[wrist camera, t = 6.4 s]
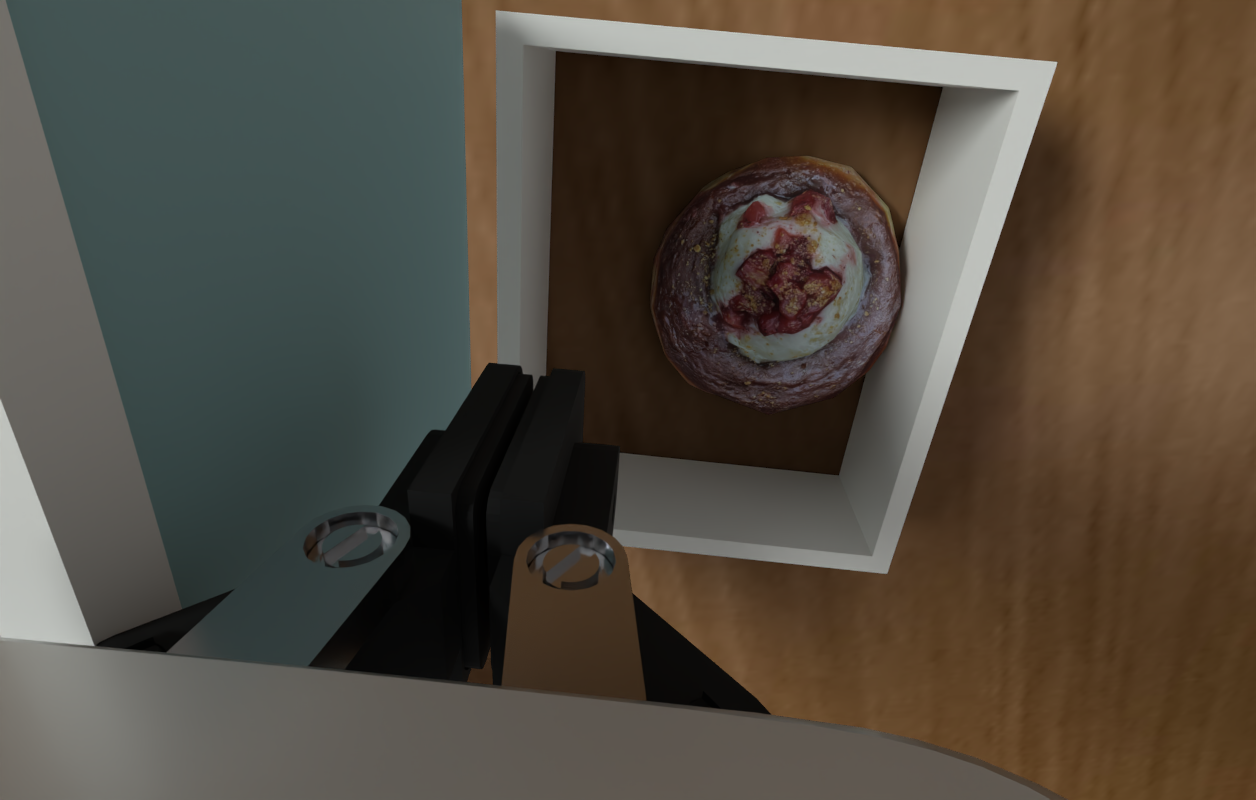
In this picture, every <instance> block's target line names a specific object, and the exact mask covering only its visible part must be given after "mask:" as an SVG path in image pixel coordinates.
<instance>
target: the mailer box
mask: <svg viewBox="0 0 1256 800" xmlns="http://www.w3.org/2000/svg"><path fill="white" fill-rule="evenodd" d="M556 51H561V52H572V53H582V54H593V55H604V56H615V57H625V58H636V59H647V60H658V61H668V62H679V63H690V64H701V65H711V66H722V67H733V68H744V69H755V70H765V71H776V72H787V73H798V74H808V75H819V76H830V77H841V78H851V79H862V80H873V81H884V82H894V83H905V84H916V85H927V86H938V87H943V89H942V93H941V96H940V100H939V104H938V108H937V111H936V115H935V119H934V123H933V126H932V130H931V134H930V137H929V141H928V145H927V149H926V152H925V156H924V160H923V164H922V167H921V171H920V175H919V178H918V182H917V186H916V190H915V193H914V197H913V201H912V205H911V208H910V212H909V216H908V219H907V223H906V227H905V231H904V234H903V238H902V242H901V246H900V249H899V262H900V288H901V306H900V309H899V312H898V315H897V318H896V320H895V323H894V326H893V329H892V332H891V335H890V338H889V341H888V344H887V347H886V348H885V350H884V351H883V352H882V354H881V355H880V357H879V358H878V359H877V361H876V362H875V363H874V365H873V366H872V368H871V369H870V370H869V371H868V372H867V373H866V376H865V380H864V384H863V387H862V391H861V395H860V399H859V402H858V406H857V410H856V413H855V417H854V421H853V425H852V428H851V432H850V436H849V440H848V443H847V447H846V451H845V454H844V458H843V462H842V466H841V469H840V473H839V475H829V474H820V473H810V472H800V471H791V470H781V469H771V468H762V467H752V466H743V465H733V464H723V463H714V462H704V461H694V460H685V459H675V458H665V457H656V456H646V455H636V454H627V453H620V457H619V472H618V485H617V498H616V509H615V519H614V528H613V537H615V538H616V540H617V541H618V542H619V543H620V544H621V545H622V546H628V547H638V548H647V549H657V550H666V551H676V552H685V553H694V554H704V555H713V556H723V557H732V558H742V559H751V560H760V561H770V562H779V563H789V564H798V565H807V566H817V567H826V568H836V569H845V570H855V571H864V572H873V573H883V574H887V573H888V570H889V567H890V564H891V561H892V558H893V555H894V552H895V549H896V546H897V543H898V540H899V537H900V534H901V531H902V528H903V525H904V522H905V519H906V516H907V513H908V510H909V507H910V504H911V501H912V498H913V495H914V492H915V489H916V486H917V483H918V480H919V477H920V474H921V471H922V468H923V465H924V462H925V459H926V456H927V453H928V450H929V447H930V444H931V441H932V438H933V435H934V432H935V429H936V426H937V423H938V420H939V417H940V414H941V411H942V408H943V405H944V402H945V399H946V395H947V392H948V389H949V386H950V383H951V380H952V377H953V374H954V371H955V368H956V365H957V362H958V359H959V356H960V353H961V350H962V347H963V344H964V341H965V338H966V335H967V332H968V329H969V326H970V323H971V320H972V317H973V314H974V311H975V308H976V305H977V302H978V299H979V296H980V293H981V290H982V287H983V284H984V281H985V278H986V275H987V272H988V269H989V266H990V263H991V260H992V257H993V254H994V251H995V248H996V245H997V242H998V239H999V236H1000V233H1001V230H1002V227H1003V224H1004V221H1005V218H1006V215H1007V212H1008V209H1009V206H1010V203H1011V200H1012V197H1013V194H1014V191H1015V188H1016V185H1017V182H1018V179H1019V176H1020V173H1021V170H1022V167H1023V164H1024V161H1025V158H1026V155H1027V152H1028V149H1029V146H1030V143H1031V140H1032V137H1033V134H1034V131H1035V128H1036V125H1037V122H1038V119H1039V116H1040V113H1041V110H1042V107H1043V104H1044V101H1045V98H1046V95H1047V92H1048V89H1049V86H1050V83H1051V80H1052V77H1053V74H1054V71H1055V68H1056V65H1057V62H1050V61H1039V60H1028V59H1017V58H1006V57H995V56H985V55H974V54H963V53H952V52H941V51H930V50H919V49H908V48H898V47H887V46H876V45H865V44H854V43H843V42H832V41H821V40H811V39H800V38H789V37H778V36H767V35H756V34H745V33H734V32H724V31H713V30H702V29H691V28H680V27H669V26H658V25H647V24H637V23H626V22H615V21H604V20H593V19H582V18H571V17H560V16H550V15H539V14H528V13H517V12H506V11H496V134H497V325H498V364H509V365H520V366H521V367H522V371H523V374H530V375H532V376H533V391H534V388H535V386H536V384H537V382H538V379H539V377H540V376H541V375H542V376H546V357H547V324H548V292H549V259H550V226H551V193H552V161H553V128H554V95H555V62H556Z"/></svg>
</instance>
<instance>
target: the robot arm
mask: <svg viewBox="0 0 1256 800" xmlns="http://www.w3.org/2000/svg"><path fill="white" fill-rule="evenodd" d="M584 397H585V371H578V370H566V369H555V368H553V370H552V372H551V374H550V376H542V375H541V376H540V377H539V379H538V382H537V384H536V386H535V388H534V391H533V376H532V375H530V374H523V371H522V367H521V366H520V365H509V364H497V363H489V364H488V365H487V366H486V368H485V369H484V371H483V372H482V374H481V375H480V377H479V379H478V380H477V382H476V383H475V385H474V386H473V388H472V390H471V391H470V393H469V394H468V396H467V397H466V399H465V401H464V402H463V404H462V405H461V407H460V408H459V410H458V411H457V413H456V415H455V416H454V418H453V419H452V421H451V422H450V424H449V426H448V427H447V429H446V430H436V429H435V430H431V431H430V432H429V433H428V434H427V435H426V437H425V438H424V440H423V441H422V443H421V444H420V446H419V447H418V449H417V450H416V451H415V453H414V454H413V456H412V457H411V459H410V460H409V462H408V463H407V465H406V466H405V468H404V469H403V471H402V472H401V473H400V475H399V476H398V478H397V479H396V481H395V482H394V484H393V485H392V487H391V488H390V490H389V491H388V493H387V494H386V495H385V497H384V498H383V500H382V501H381V503H380V504H379V506H373V505H359V506H348V507H344V508H341V509H337V510H333V511H330V512H328V513H325V514H323V515H321V516H319V517H316V518H314V519H313V520H312V521H310V522H309V523H307V524H306V525H305V526H303V527H302V528H301V529H300V530H299V531H297V532H296V533H295V534H294V535H293V536H292V537H291V538H290V539H289V540H288V541H287V542H286V543H284V544H283V545H282V546H281V547H280V548H279V549H278V550H277V551H276V552H275V553H274V554H273V555H271V556H270V557H269V558H268V559H267V560H266V561H265V562H264V563H263V564H262V565H261V566H260V567H258V568H257V569H256V570H255V571H254V572H253V573H252V574H251V575H250V576H249V577H248V578H247V579H245V580H244V581H243V582H242V583H241V584H240V585H239V586H238V587H237V588H236V589H233V590H231V591H228V592H226V593H223V594H220V595H218V596H215V597H212V598H210V599H207V600H205V601H202V602H199V603H197V604H194V605H192V606H189V607H186V608H184V609H181V610H179V611H176V612H173V613H171V614H168V615H166V616H163V617H160V618H158V619H155V620H152V621H150V622H147V623H145V624H142V625H139V626H137V627H134V628H132V629H129V630H126V631H124V632H121V633H119V634H116V635H113V636H111V637H109V638H107V639H105V640H103V641H101V642H99V643H98V644H97V645H96V646H89V645H78V644H67V643H57V642H46V641H35V640H25V639H14V638H3V637H0V800H1067V799H1066V798H1064V797H1062V796H1060V795H1058V794H1056V793H1054V792H1052V791H1050V790H1048V789H1047V788H1045V787H1043V786H1041V785H1039V784H1037V783H1034V782H1032V781H1030V780H1027V779H1025V778H1023V777H1020V776H1018V775H1016V774H1013V773H1011V772H1009V771H1006V770H1004V769H1002V768H999V767H997V766H995V765H992V764H990V763H988V762H985V761H983V760H981V759H978V758H976V757H972V756H969V755H966V754H963V753H959V752H956V751H953V750H950V749H947V748H943V747H940V746H937V745H934V744H930V743H927V742H924V741H921V740H917V739H913V738H908V737H903V736H899V735H894V734H889V733H885V732H880V731H875V730H871V729H866V728H862V727H855V726H847V725H840V724H833V723H825V722H818V721H811V720H804V719H797V718H790V717H783V716H776V715H771V714H770V713H769V712H768V710H767V709H766V708H765V707H764V706H763V705H762V704H761V703H760V702H759V701H758V700H757V699H756V698H755V697H754V696H753V695H752V694H751V693H749V692H748V691H747V690H746V689H745V688H744V687H742V686H741V685H740V684H739V683H738V682H736V681H735V680H734V679H733V678H732V677H731V676H729V675H728V674H727V673H726V672H725V671H724V670H722V669H721V668H720V667H719V666H718V665H716V664H715V663H714V662H713V661H712V660H711V659H709V658H708V657H707V656H706V655H705V654H703V653H702V652H701V651H700V650H699V649H698V648H696V647H695V646H694V645H693V644H692V643H691V642H689V641H688V640H687V639H686V638H685V637H683V636H682V635H681V634H680V633H679V632H678V631H676V630H675V629H674V628H673V627H672V626H670V625H669V624H668V623H667V622H666V621H665V620H663V619H662V618H661V617H660V616H659V615H658V614H656V613H655V612H654V611H653V610H652V609H650V608H649V607H648V606H647V605H646V604H645V603H643V602H642V601H641V600H640V599H639V598H637V597H636V596H635V595H634V594H633V593H632V587H631V580H630V572H629V565H628V558H627V555H626V553H625V550H624V547H623V546H622V545H621V544H620V543H619V542H618V541H617V540H616V538H615V537H613V528H614V519H615V509H616V498H617V485H618V472H619V457H620V446H614V445H603V444H592V443H583V420H584ZM490 647H491V667H492V672H493V685H489V684H479V683H470V682H467V679H468V676H469V674H470V671H471V668H476V669H482V668H483V667H484V665H485V662H486V659H487V656H488V653H489V650H490Z"/></svg>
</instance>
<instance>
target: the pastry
mask: <svg viewBox="0 0 1256 800" xmlns="http://www.w3.org/2000/svg"><path fill="white" fill-rule="evenodd" d="M900 306H901V288H900V262H899V249H898V245H897V240H896V236H895V232H894V227H893V223H892V219H891V215H890V210H889V207H888V206H887V205H886V204H885V203H884V202H883V201H882V200H881V199H880V197H879V196H878V195H877V194H876V193H875V192H874V191H873V190H872V189H871V188H870V187H869V185H868V184H867V183H866V182H865V181H864V180H863V179H862V178H861V177H860V176H859V175H858V173H857V172H856V171H855V170H854V169H853V168H852V167H851V166H847V165H843V164H839V163H835V162H831V161H827V160H823V159H819V158H815V157H811V156H791V157H771V158H765V159H762V160H759V161H756V162H754V163H751V164H748V165H745V166H743V167H740V168H737V169H735V170H732V171H729V172H727V173H726V174H724V175H722V176H720V177H719V178H717V179H715V180H714V181H712V182H710V183H709V184H707V185H705V186H704V187H703V188H702V189H701V190H700V191H699V192H698V193H697V195H696V196H695V197H694V198H693V199H692V200H691V201H690V203H689V204H688V205H687V206H686V207H685V208H684V209H683V211H682V212H681V213H680V214H679V215H678V216H677V217H676V219H675V220H674V221H673V222H672V223H671V224H670V225H669V227H668V228H667V229H666V232H665V234H664V236H663V239H662V241H661V243H660V245H659V248H658V250H657V253H656V255H655V257H654V262H653V274H652V285H651V297H650V308H651V312H652V317H653V321H654V324H655V327H656V330H657V333H658V336H659V339H660V342H661V345H662V348H663V350H664V353H665V356H666V357H667V359H668V360H669V361H670V362H671V363H672V365H673V366H674V367H675V368H676V369H677V371H678V372H679V373H680V374H681V376H682V377H683V378H684V379H685V380H686V382H687V383H688V384H690V385H692V386H694V387H696V388H698V389H700V390H702V391H704V392H707V393H710V394H715V395H718V396H720V397H723V398H726V399H728V400H731V401H733V402H736V403H739V404H741V405H744V406H747V407H749V408H752V409H755V410H757V411H760V412H763V413H765V414H768V415H770V414H774V413H777V412H781V411H785V410H789V409H793V408H796V407H800V406H804V405H808V404H812V403H815V402H819V401H823V400H827V399H831V398H834V397H835V396H837V395H838V394H839V393H841V392H842V391H843V390H845V389H846V388H847V387H848V386H850V385H851V384H852V383H854V382H855V381H856V380H858V379H859V378H860V377H862V376H863V375H864V374H865V373H867V372H868V371H869V370H870V369H871V368H872V366H873V365H874V363H875V362H876V361H877V359H878V358H879V357H880V355H881V354H882V352H883V351H884V350H885V348H886V347H887V344H888V341H889V338H890V335H891V332H892V329H893V326H894V323H895V320H896V318H897V315H898V312H899V309H900Z"/></svg>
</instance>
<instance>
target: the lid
mask: <svg viewBox="0 0 1256 800" xmlns="http://www.w3.org/2000/svg"><path fill="white" fill-rule="evenodd" d="M470 391H471V361H470V321H469V281H468V242H467V202H466V162H465V123H464V83H463V43H462V4H461V0H0V637H3V638H14V639H25V640H35V641H46V642H57V643H67V644H78V645H89V646H96V645H97V644H98V643H99V642H101V641H103V640H105V639H107V638H109V637H111V636H113V635H116V634H119V633H121V632H124V631H126V630H129V629H132V628H134V627H137V626H139V625H142V624H145V623H147V622H150V621H152V620H155V619H158V618H160V617H163V616H166V615H168V614H171V613H173V612H176V611H179V610H181V609H184V608H186V607H189V606H192V605H194V604H197V603H199V602H202V601H205V600H207V599H210V598H212V597H215V596H218V595H220V594H223V593H226V592H228V591H231V590H233V589H236V588H237V587H238V586H239V585H240V584H241V583H242V582H243V581H244V580H245V579H247V578H248V577H249V576H250V575H251V574H252V573H253V572H254V571H255V570H256V569H257V568H258V567H260V566H261V565H262V564H263V563H264V562H265V561H266V560H267V559H268V558H269V557H270V556H271V555H273V554H274V553H275V552H276V551H277V550H278V549H279V548H280V547H281V546H282V545H283V544H284V543H286V542H287V541H288V540H289V539H290V538H291V537H292V536H293V535H294V534H295V533H296V532H297V531H299V530H300V529H301V528H302V527H303V526H305V525H306V524H307V523H309V522H310V521H312V520H313V519H314V518H316V517H319V516H321V515H323V514H325V513H328V512H330V511H333V510H337V509H341V508H344V507H348V506H359V505H373V506H379V504H380V503H381V501H382V500H383V498H384V497H385V495H386V494H387V493H388V491H389V490H390V488H391V487H392V485H393V484H394V482H395V481H396V479H397V478H398V476H399V475H400V473H401V472H402V471H403V469H404V468H405V466H406V465H407V463H408V462H409V460H410V459H411V457H412V456H413V454H414V453H415V451H416V450H417V449H418V447H419V446H420V444H421V443H422V441H423V440H424V438H425V437H426V435H427V434H428V433H429V432H430V431H431V430H435V429H436V430H446V429H447V427H448V426H449V424H450V422H451V421H452V419H453V418H454V416H455V415H456V413H457V411H458V410H459V408H460V407H461V405H462V404H463V402H464V401H465V399H466V397H467V396H468V394H469V393H470Z"/></svg>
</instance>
